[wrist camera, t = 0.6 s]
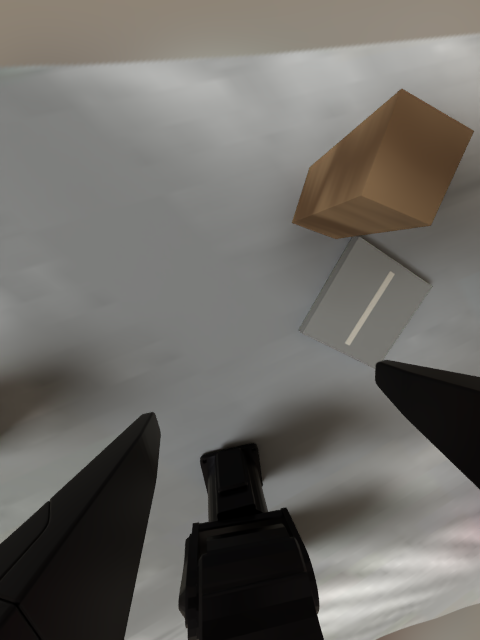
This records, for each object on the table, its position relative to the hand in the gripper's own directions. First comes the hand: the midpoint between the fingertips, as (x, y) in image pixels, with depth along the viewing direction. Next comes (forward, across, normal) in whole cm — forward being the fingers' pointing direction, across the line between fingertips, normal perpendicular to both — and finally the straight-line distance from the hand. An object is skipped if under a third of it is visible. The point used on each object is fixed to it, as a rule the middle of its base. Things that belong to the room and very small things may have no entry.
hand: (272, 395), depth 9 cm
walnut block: (+13, -10, -9) cm, 18 cm away
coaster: (+13, -13, +1) cm, 18 cm away
